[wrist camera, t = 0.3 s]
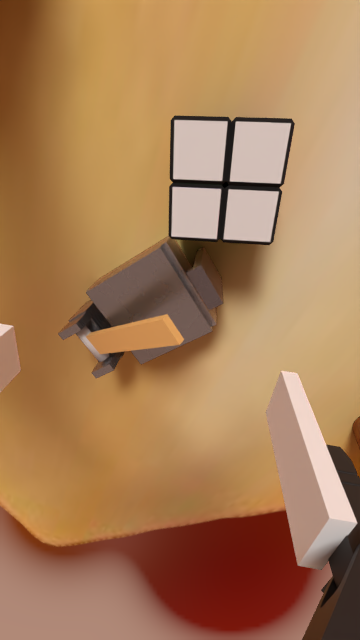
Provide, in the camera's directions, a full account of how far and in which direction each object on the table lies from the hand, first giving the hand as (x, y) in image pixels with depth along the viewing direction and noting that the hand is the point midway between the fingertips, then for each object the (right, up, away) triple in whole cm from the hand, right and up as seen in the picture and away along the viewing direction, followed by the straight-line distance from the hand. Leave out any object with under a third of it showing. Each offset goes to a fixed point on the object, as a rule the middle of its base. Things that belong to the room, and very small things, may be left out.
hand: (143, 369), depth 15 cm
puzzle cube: (+7, +19, +20) cm, 28 cm away
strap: (-4, +1, +19) cm, 19 cm away
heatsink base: (-2, +6, +27) cm, 28 cm away
